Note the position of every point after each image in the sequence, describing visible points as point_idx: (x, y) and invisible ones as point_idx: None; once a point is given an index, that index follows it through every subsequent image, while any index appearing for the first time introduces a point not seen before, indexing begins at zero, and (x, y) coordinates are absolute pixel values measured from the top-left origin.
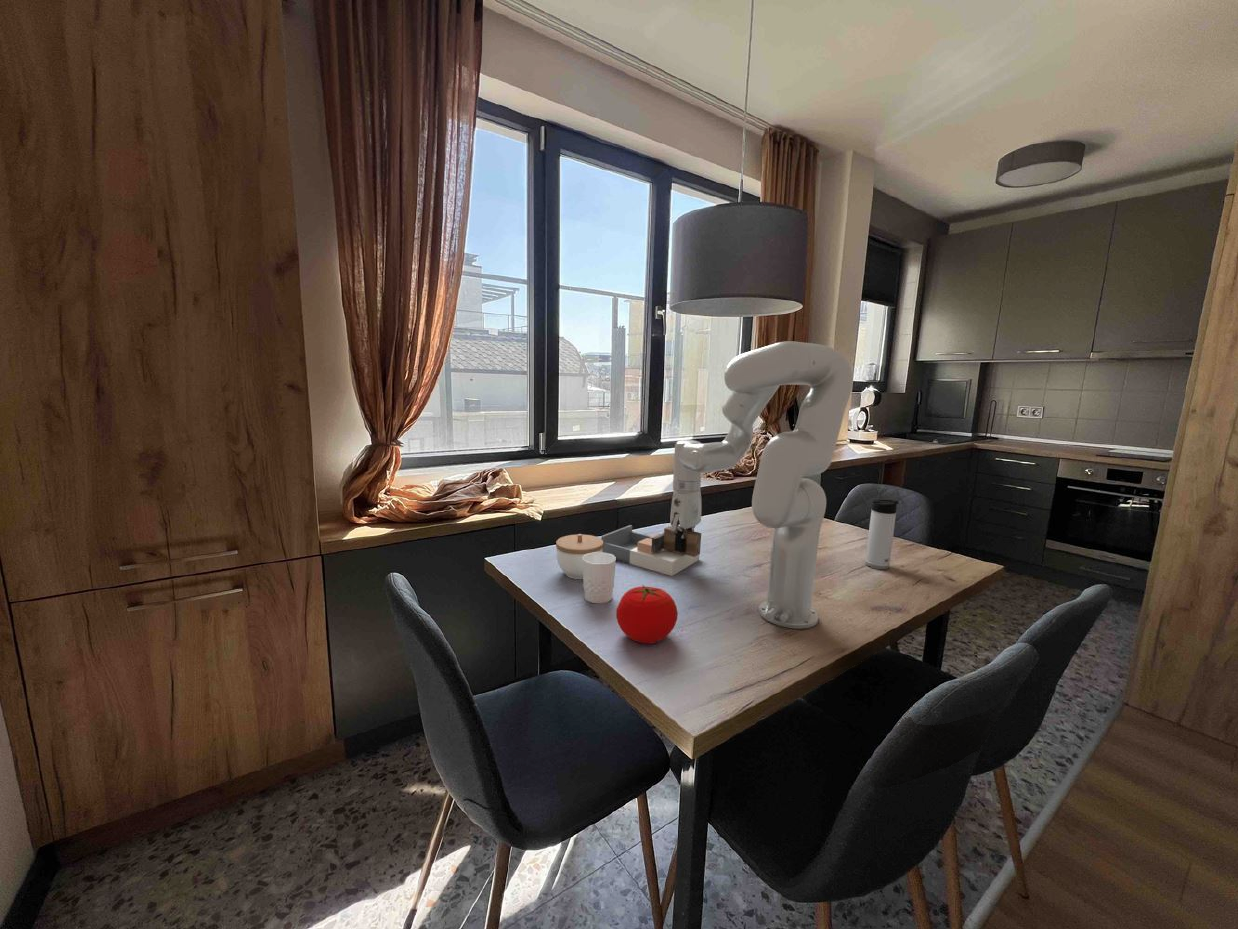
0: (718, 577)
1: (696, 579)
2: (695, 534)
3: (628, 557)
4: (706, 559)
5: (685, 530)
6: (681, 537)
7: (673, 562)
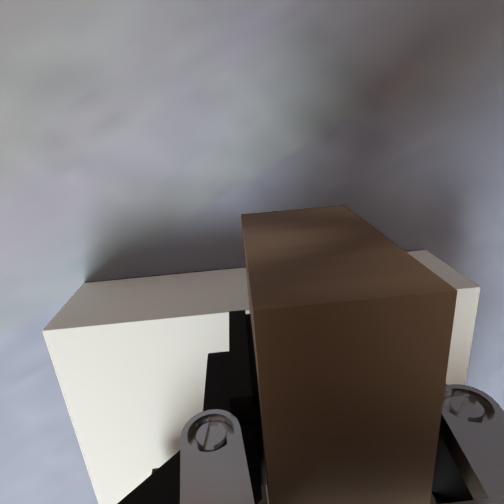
0: (251, 10)
1: (383, 113)
2: (385, 336)
3: None
4: (35, 255)
5: (488, 487)
6: (490, 415)
7: (462, 284)
